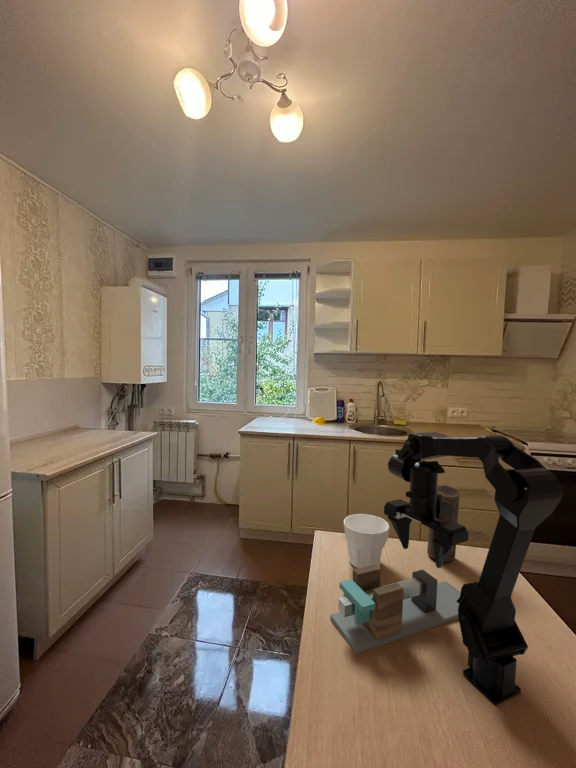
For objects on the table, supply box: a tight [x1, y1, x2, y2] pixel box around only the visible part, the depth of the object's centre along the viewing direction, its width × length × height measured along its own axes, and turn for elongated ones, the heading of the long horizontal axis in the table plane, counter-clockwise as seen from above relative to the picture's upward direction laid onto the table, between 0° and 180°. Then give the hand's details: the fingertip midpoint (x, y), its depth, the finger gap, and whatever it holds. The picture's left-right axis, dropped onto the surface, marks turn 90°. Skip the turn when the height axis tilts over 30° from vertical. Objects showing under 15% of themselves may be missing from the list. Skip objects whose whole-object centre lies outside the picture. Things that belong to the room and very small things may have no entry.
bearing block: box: [352, 564, 403, 640], centre depth 75 cm, size 9×6×10 cm, turn 23°
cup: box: [343, 513, 390, 569], centre depth 99 cm, size 12×12×11 cm
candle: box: [426, 484, 461, 563], centre depth 102 cm, size 8×7×20 cm
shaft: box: [337, 569, 438, 617], centre depth 76 cm, size 4×23×7 cm, turn 113°
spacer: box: [338, 578, 375, 625], centre depth 73 cm, size 8×3×5 cm, turn 23°
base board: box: [329, 580, 461, 655], centre depth 79 cm, size 10×33×1 cm, turn 113°
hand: (421, 557), depth 80 cm, fingers open, 9 cm apart
